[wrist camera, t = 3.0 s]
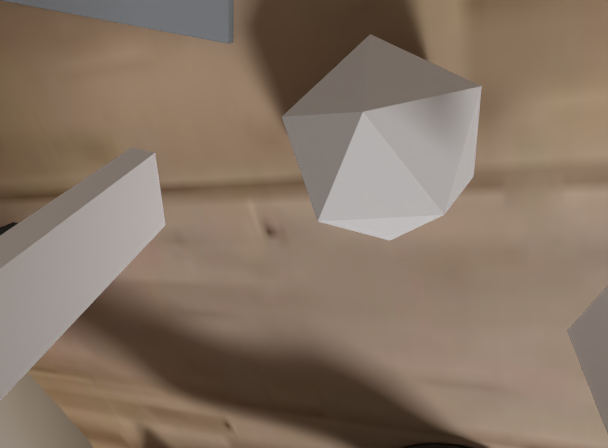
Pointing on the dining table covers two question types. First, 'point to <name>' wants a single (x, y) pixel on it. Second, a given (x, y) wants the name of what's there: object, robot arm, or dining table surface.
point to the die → (385, 140)
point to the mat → (154, 14)
